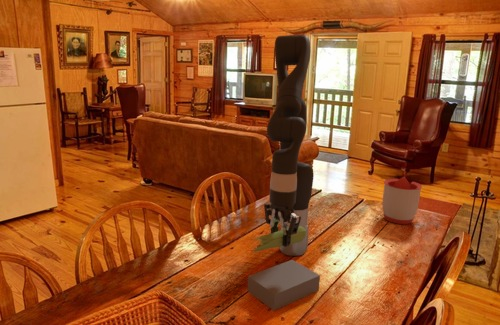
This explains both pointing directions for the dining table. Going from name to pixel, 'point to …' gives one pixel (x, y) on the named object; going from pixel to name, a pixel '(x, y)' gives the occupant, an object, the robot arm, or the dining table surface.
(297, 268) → the plinth
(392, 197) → the citrus juicer
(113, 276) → the dining table surface
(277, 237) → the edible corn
